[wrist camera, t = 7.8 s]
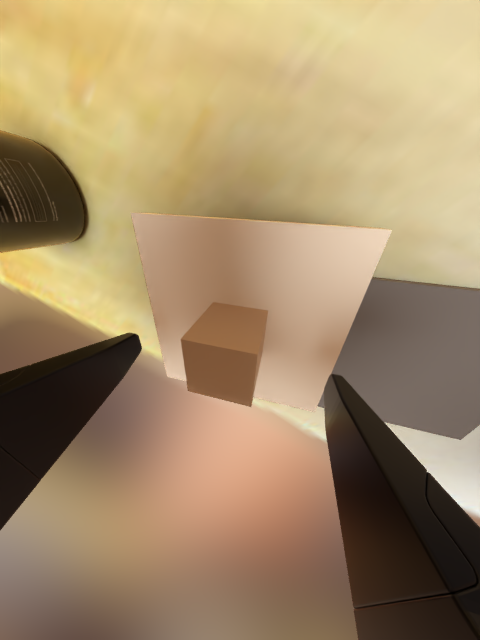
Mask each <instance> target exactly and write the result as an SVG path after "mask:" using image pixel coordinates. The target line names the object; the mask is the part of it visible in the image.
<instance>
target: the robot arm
mask: <svg viewBox="0 0 480 640" xmlns="http://www.w3.org/2000/svg"><path fill="white" fill-rule="evenodd" d="M141 349H142V346H141V343H140V339H139V336H138V335H137V334H134V333H126V334H123V335H120V336H117V337H114V338H111V339H108V340H105V341H102V342H99V343H96V344H92V345H89V346H86V347H83V348H80V349H77V350H74V351H71V352H68V353H65V354H62V355H59V356H55V357H52V358H49V359H46V360H44V361H40V362H37V363H34V364H32V365H28V366H25V367H21V368H18V369H16V370H12V371H9V372H6V373H3V374H0V530H1V529H2V528H3V526H4V525H5V524H6V523H7V521H8V520H9V519H10V518H11V517H12V515H13V514H14V513H15V512H16V510H17V509H18V508H19V507H20V505H21V504H22V503H23V502H24V500H25V499H26V498H27V497H28V495H29V494H30V493H31V492H32V490H33V489H34V488H35V487H36V486H37V484H38V483H39V482H40V480H41V479H42V478H43V477H44V475H45V474H46V473H47V472H48V470H49V469H50V468H51V467H52V465H53V464H54V463H55V462H56V461H57V459H58V458H59V457H60V456H61V454H62V453H63V452H64V451H65V449H66V448H67V447H68V446H69V444H70V443H71V441H73V439H74V438H75V437H76V436H77V434H78V433H79V432H80V431H81V430H82V428H83V427H84V426H85V425H86V423H87V422H88V421H89V420H90V418H91V417H92V416H93V415H94V414H95V412H96V411H97V410H98V409H99V407H100V406H101V405H102V404H103V402H104V401H105V400H106V398H107V397H108V396H109V395H110V394H111V392H112V391H113V390H114V388H115V387H116V386H117V385H118V384H119V382H120V381H121V380H122V379H123V377H124V376H125V375H126V373H127V372H128V370H129V368H130V367H131V365H132V364H133V363H134V361H135V360H136V358H137V357H138V355H139V354H140V352H141ZM324 408H325V429H326V437H327V443H328V449H329V456H330V461H331V468H332V474H333V480H334V487H335V494H336V499H337V506H338V512H339V519H340V525H341V532H342V537H343V544H344V551H345V557H346V563H347V569H348V576H349V582H350V589H351V595H352V601H353V606H354V608H355V609H354V615H355V621H356V628H357V634H358V640H480V527H479V526H478V525H477V524H476V523H475V522H474V521H473V520H472V519H471V518H470V517H469V515H468V514H467V513H466V512H465V511H464V510H463V509H462V508H461V507H460V506H459V505H458V504H457V503H456V501H455V500H454V499H453V498H452V497H451V496H450V495H449V494H448V493H447V492H446V491H445V490H444V488H443V487H442V486H441V485H440V484H439V483H438V482H437V481H436V480H435V478H434V477H433V476H432V475H431V474H430V473H428V472H427V470H426V469H425V467H424V466H423V465H422V464H421V463H420V462H419V461H418V460H417V459H416V457H415V456H414V455H413V454H412V453H411V452H410V451H409V450H408V449H407V447H406V446H405V445H404V444H403V443H402V442H401V441H400V440H399V439H398V437H397V436H396V435H395V434H394V433H393V432H392V431H391V430H390V428H389V427H388V426H387V425H386V424H385V423H384V422H383V421H382V420H381V418H380V417H379V416H378V415H377V414H376V413H375V412H374V411H373V410H372V408H371V407H370V406H369V405H368V404H367V403H366V402H365V401H364V400H363V398H362V397H361V396H360V395H359V394H358V393H357V392H356V391H355V390H354V388H353V387H352V386H351V385H350V384H349V383H348V382H347V381H346V380H345V378H344V377H343V376H341V375H337V374H330V375H329V378H328V380H327V382H326V385H325V387H324Z"/></svg>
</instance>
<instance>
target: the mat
mask: <svg viewBox="0 0 480 640" xmlns="http://www.w3.org/2000/svg"><path fill="white" fill-rule="evenodd" d="M331 374H337V375H341V376H343V377H344V378H345V380H346V381H347V382H348V383H349V384H350V385H351V386H352V387H353V388H354V390H355V391H356V392H357V393H358V394H359V395H360V396H361V397H362V398H363V400H364V401H365V402H366V403H367V404H368V405H369V406H370V407H371V408H372V410H373V411H374V412H375V413H376V414H377V415H378V416H379V417H380V418H381V420H382V421H383V422H387V423H391V424H395V425H400V426H404V427H408V428H412V429H417V430H421V431H425V432H429V433H434V434H438V435H442V436H446V437H451V438H455V439H459V440H461V439H462V438H463V437H465V436H466V435H467V434H469V433H470V432H471V431H472V430H474V429H475V428H476V427H477V426H479V425H480V289H474V288H465V287H456V286H446V285H437V284H428V283H419V282H410V281H401V280H392V279H382V278H373V277H372V279H371V281H370V283H369V286H368V288H367V290H366V293H365V295H364V298H363V300H362V302H361V305H360V307H359V309H358V312H357V314H356V316H355V319H354V321H353V323H352V326H351V328H350V330H349V333H348V335H347V338H346V340H345V342H344V345H343V347H342V349H341V352H340V354H339V356H338V359H337V361H336V363H335V366H334V368H333V370H332V373H331ZM318 406H319V407H323V408H324V392H323V394H322V396H321V399H320V401H319V403H318Z"/></svg>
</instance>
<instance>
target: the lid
mask: <svg viewBox="0 0 480 640" xmlns="http://www.w3.org/2000/svg"><path fill="white" fill-rule="evenodd" d="M131 216H132V221H133V225H134V230H135V234H136V239H137V244H138V248H139V253H140V257H141V262H142V266H143V271H144V275H145V280H146V284H147V289H148V293H149V298H150V302H151V307H152V311H153V316H154V320H155V325H156V329H157V334H158V338H159V343H160V347H161V352H162V357H163V361H164V365H165V370H166V375H167V377H171V378H175V379H179V380H184V381H187V388H188V391H190V392H194V393H198V394H202V395H206V396H210V397H214V398H218V399H222V400H226V401H230V402H234V403H238V404H242V405H246V406H250V407H251V405H252V400H253V397H254V398H258V399H262V400H266V401H271V402H275V403H279V404H283V405H287V406H291V407H295V408H300V409H304V410H308V411H312V412H315V410H316V408H317V406H318V403H319V401H320V399H321V396H322V394H323V392H324V387H325V385H326V382H327V380H328V378H329V375H330V374H331V373H332V370H333V368H334V366H335V363H336V361H337V359H338V356H339V354H340V352H341V349H342V347H343V345H344V342H345V340H346V338H347V335H348V333H349V330H350V328H351V326H352V323H353V321H354V319H355V316H356V314H357V312H358V309H359V307H360V305H361V302H362V300H363V298H364V295H365V293H366V290H367V288H368V286H369V283H370V281H371V279H372V276H373V274H374V272H375V269H376V267H377V265H378V262H379V260H380V258H381V255H382V253H383V250H384V248H385V246H386V243H387V241H388V239H389V236H390V234H391V232H392V230H390V229H384V228H372V227H357V226H341V225H326V224H311V223H295V222H280V221H264V220H249V219H233V218H218V217H202V216H187V215H171V214H156V213H131Z"/></svg>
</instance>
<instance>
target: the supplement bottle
mask: <svg viewBox="0 0 480 640" xmlns="http://www.w3.org/2000/svg"><path fill="white" fill-rule="evenodd" d="M84 220H85V216H84V208H83V204H82V200H81V197H80V195H79V192H78V190H77V188H76V186H75V184H74V182H73V180H72V178H71V177H70V175H69V174H68V172H67V171H66V169H65V168H64V167H63V166H62V164H61V163H60V162H59V161H58V160H57V159H56V158H55V157H54V156H53V155H52V154H51V153H50V152H49V151H47V150H46V149H45V148H44V147H42V146H41V145H39V144H38V143H36V142H34V141H32V140H30V139H27V138H24V137H22V136H18V135H15V134H11V133H7V132H4V131H1V130H0V253H3V252H10V251H17V250H24V249H31V248H38V247H46V246H53V245H59V244H65V243H69V242H72V241H74V240H76V239H77V238H78V237H79V236H80V234H81V233H82V231H83V228H84Z"/></svg>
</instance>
